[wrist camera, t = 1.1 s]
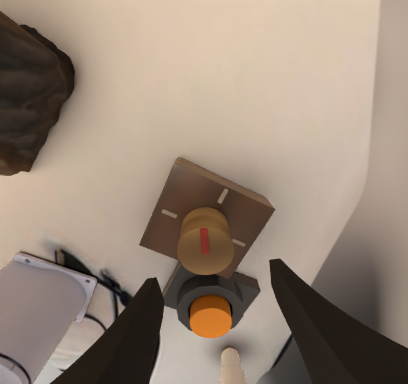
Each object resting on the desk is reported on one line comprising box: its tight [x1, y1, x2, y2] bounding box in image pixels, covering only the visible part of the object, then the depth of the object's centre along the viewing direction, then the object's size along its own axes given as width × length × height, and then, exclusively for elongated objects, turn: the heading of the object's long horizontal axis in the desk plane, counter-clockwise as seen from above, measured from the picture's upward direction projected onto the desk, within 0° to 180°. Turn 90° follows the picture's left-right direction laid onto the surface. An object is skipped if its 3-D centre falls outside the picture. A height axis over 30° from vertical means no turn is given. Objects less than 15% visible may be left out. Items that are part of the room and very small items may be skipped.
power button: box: [190, 294, 232, 338], centre depth 21 cm, size 4×4×2 cm
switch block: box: [162, 261, 260, 331], centre depth 23 cm, size 10×7×4 cm
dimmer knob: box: [177, 207, 234, 275], centre depth 16 cm, size 4×4×4 cm
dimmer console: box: [139, 157, 275, 279], centre depth 19 cm, size 10×9×3 cm
